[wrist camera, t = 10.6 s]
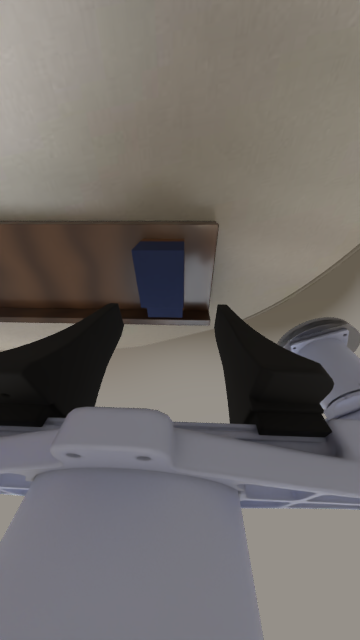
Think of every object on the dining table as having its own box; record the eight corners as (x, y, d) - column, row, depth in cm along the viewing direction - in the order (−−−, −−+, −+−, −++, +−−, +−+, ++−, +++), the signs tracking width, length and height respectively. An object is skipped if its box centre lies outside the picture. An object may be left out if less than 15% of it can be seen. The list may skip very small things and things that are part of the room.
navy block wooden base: (142, 238, 16) (130, 250, 13) (184, 238, 16) (184, 250, 12) (150, 306, 20) (144, 327, 17) (183, 306, 20) (183, 327, 17)
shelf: (215, 221, 16) (222, 227, 13) (206, 307, 22) (209, 325, 19) (-132, 221, 17) (-204, 227, 14) (-52, 303, 23) (-89, 320, 20)
